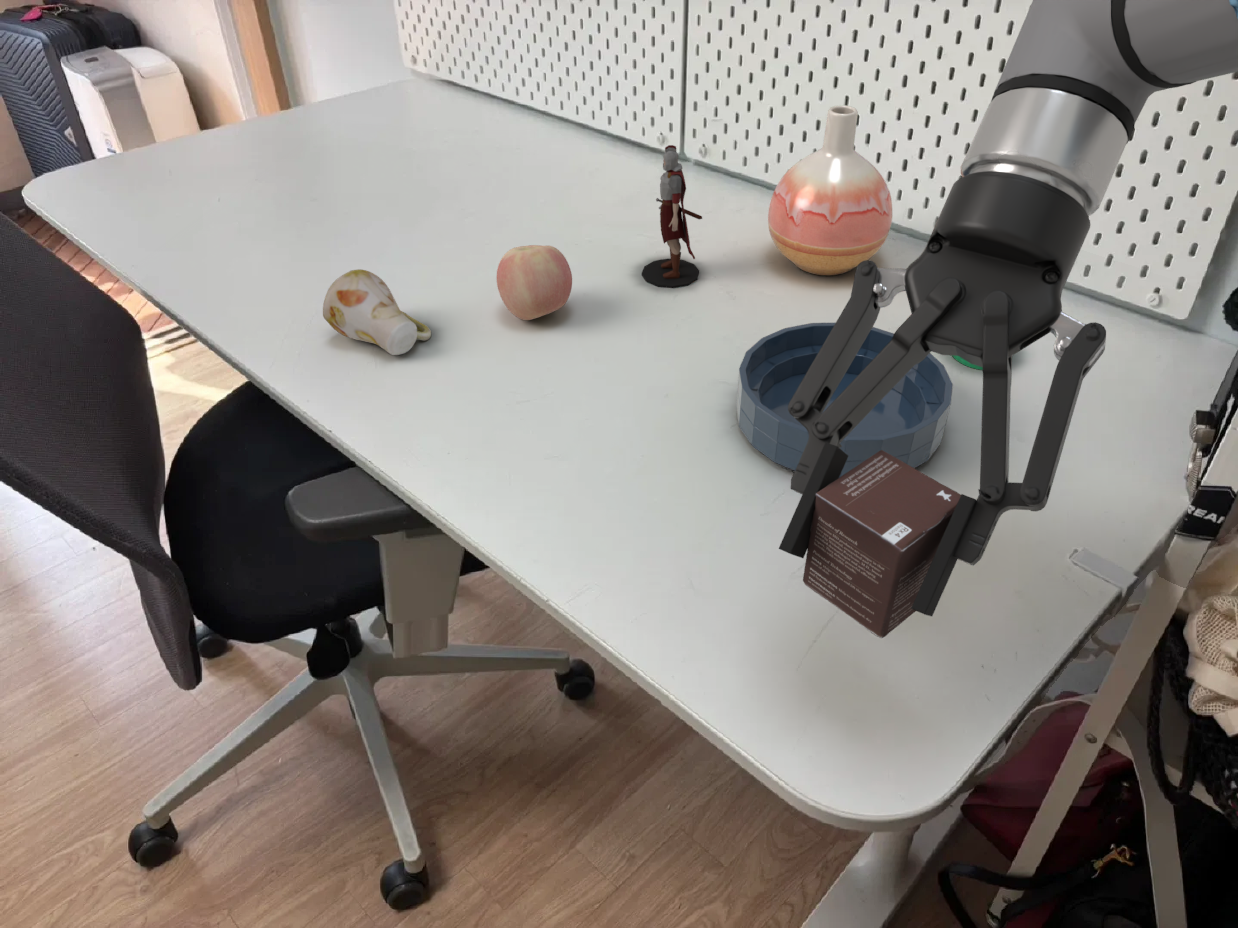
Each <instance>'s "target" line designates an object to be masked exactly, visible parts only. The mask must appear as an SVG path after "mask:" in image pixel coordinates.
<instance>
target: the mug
mask: <svg viewBox="0 0 1238 928" xmlns="http://www.w3.org/2000/svg"><path fill="white" fill-rule="evenodd" d="M322 317H323V319H324V320H325V322H327V323H328V324H329V326H330V327H331V328H332V329H333V330H335V332H337V333H339V334H340V335H342V336H344V337H345V338H346V337H347V338H350V339H352V340H357V341H361V342H366V343H370V344H374V345H377V346H378V347H380V348H381V349H383V350H384V351H385V352H387V354H390V355H393V356H399V355H404V354H406V353H408V352H409V351H410V350H411V349H412V348H413V347H414V345H415V343H416V341H417V340H419V341H424V342H425V341H428V340H429V339H430V338H431V337H432V331H431V329H430V328H429V326H427V325H426V324H424V323H422V322H420V321H419V320H417V319H415V318H413V317H412V316H410V315H408V314H407V313H406V312H404V311H403V310H401V309H400V307H399V305H398V303H397V301H396V299H395V297H394V295H393V293H392V291H391V290H390V288H389V287H388V285H387V284H386V282H385V281H384V280H383V279H382V278H381V277H380V276H378V275H377V274H375V273H373V272H371V271H369V270H367V269H353V270H350V271H347V272H345V273H344V274H342V275H340V276H339V277H338V278H336V279H335V280H334V281H333V282H332V283H331V284H330V286H329V287H328V289H327V291H326V294H325V297H324V300H323V304H322Z"/></svg>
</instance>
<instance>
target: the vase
mask: <svg viewBox="0 0 1238 928" xmlns="http://www.w3.org/2000/svg"><path fill="white" fill-rule="evenodd" d="M858 112H859V111H858V109H857V108H855V107H853V106H850V105H845V104H843V105H841V104H839V105H834V106H831V107H829V108H828V110H827V115H826V122H825V127H824V128H825V129H824V137H823V143H822V147H821V148H819V149H817V150H815V151H813V152H811V153H810V154H808V155H807V156H805V157H803V158H801V159H800V160H798V161H797V162H796V163H795V164H793V165H792V166H791V167H790V168H789V169H788V170H787V171H786V172H785V173H784V174H783V175H782V177H781V178H780V180H779V181H778V183H777V184H776V186H775V188H774V190H773V193H772V196H771V198H770V201H769V206H768V213H767V225H768V231H769V234H770V237H771V240H772V241H773V243H774V245H775V246H776V248H777V249H778V251H779V252H780V254H781V255H783V256H784V258H786V259H788V260H789V261H790V262H791V263H792V264H793V266H795V267H796V268H798V269H799V270H802V271H803V272H806V273H809V274H813V275H817V276H838V275H842V274H845V273H847V272H849V271H851V270H853V269H854V268H857V266H858V265H859V264H860V263H861V262H863V261H865V260H870V259H871V258H872V257H873V256H874V255H876V254H877V253H878V252H879V251H880V249H881V248H882V246H884V244H885V242H886V241H887V239H888V236H889V234H890V231H891V228H892V223H893V200H892V196H891V191H890V189H889V187H888V184H887V182H886V180H885V178H884V177H883V175H882V173H880V171H879V170H878V169H877V168H876V166H874V165H873V163H872V162H870V161H869V160H868V159H867V158H865V157H864V155H861V154H860V153H859V152H857V151H856V150H855V140H856V131H857V123H858V114H859V113H858Z"/></svg>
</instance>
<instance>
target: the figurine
mask: <svg viewBox="0 0 1238 928" xmlns="http://www.w3.org/2000/svg"><path fill="white" fill-rule="evenodd" d="M662 158H663V163H662V169H663V171H665V172H663V173H662V175H661V176H660V178H659V179H660V184H659V194H660V198H659V197H656V199H655V200H656V202H657V203H661V205H660V206H659V207H658V210H660V211H659V225H660V232H661V234H660V235H661V237H662V242H663V244H665V245H667V246H668V247H669V255H670V257H669V258H663V259H657V260H653V261H651V262H649V263H647V264H645V265H644V267H643V268H642V271H641V277H642V278H643V280H644V281H645V282H646V283H647V284H650V285H653V286H655V287H658V288H663V289H664V288H665V289H666V288H667V289H678V288H682V287H683V288H684V287H688V286H690V285H692V284H693V283H695V282H696V281H698V279H699V277H700V269H699V268H698V267H697V266H696V265H695V263H692V262H690V261H687V260H685V259H681V256H682V252H681V250H682V246H681V242H680V240H682V241H683V242H684V243H685V244H686V248H687V251H688V254H689V255H690V256H691V257H692V259H693V260H696V256H695V255H694V253H693V250H692V249H691V241H690V235H689V228H688V223H687V217H686V215H687V216H690V217H691V218H694V219H697V220H703V216H702V215H700V214H697V213H695V212H694V211H691V210H688V209H686V208H685V206H684V199H685V195H686V192H687V185H686V179H685V176H684V172H683V165H682V163H679V153H678V152H677V146H676V145H674V144H671V145H670V144H669V145H667V146H665V147H664V154H663V157H662Z"/></svg>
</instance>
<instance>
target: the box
mask: <svg viewBox="0 0 1238 928" xmlns="http://www.w3.org/2000/svg"><path fill="white" fill-rule="evenodd" d="M961 494H962V493H959V492H957V491H956V490H953V489H952V488H950V487H948V486H947V485H944V484H943V483H941V482H939V481H937V480H935V479H934V478H932V477H931V476H928V474H925V473H923V472H922V471H920V470H918V469H916V468H913V467H911V466H909V465H907V464H906V463H904V462H902V461H901V460H899V459H897V458H895V457H894V456H892V455H890V454H888V453H886V452H885V451H883V450H880V451H879V452H877V453H876V454H874V455H873V456H871V457H870V458H868V459H867V460H865V461H863V462H862V463H861V464H859V465H858V466H856V467H855V468H853V469H852V470H850V471H849V472H847V473H846V474H844V475H843V476H841V477H840V478H838V479H837V480H835V481H834V482H832V483H831V484H829V485H828V486H826V487H825V488H823V489H822V490H820V491H819V492H817V493H816V501H815V508H814V512H813V519H812V525H811V531H810V537H809V543H808V549H807V551H806V557H805V563H804V570H803V575H802V582H803V584H804V586H806V587H807V588H809V589H810V590H811V591H813V593H815V594H817V595H818V596H820V597H821V598H823V599H824V600H826V601H827V602H829V603H830V604H831V605H833V606H835V607H836V608H837V609H839V610H840V611H842V613H844V614H846V616H847V615H848V617H850V618H851V619H853V620H854V621H855V622H856V623H858V624H859V625H861V626H863V628H864V629H866V630H867V631H868V632H870V633H871V634H873V635H874V636H876V637H878V638H880V639H883V638H885V637H886V636H888V635H889V634H890V633H891V632H893V630H895V629H896V628H897V627H898V626H900V624H902V623H903V622H904V621H906V620H907V619H908V618H909V617H910V616H912V615H913V614H914V613H915V612H917V611H916V610H913V609H911V607H912V605H913V603H914V601H915V598H916V596H917V594H918V592H919V589H920V587H921V585H922V583H923V580H924V578H925V576H926V573H927V571H928V569H929V567H930V564H931V562H932V560H933V558H934V555H935V553H936V551H937V549H938V546H939V544H940V542H941V540H942V537H943V535H944V533H945V530H946V528H947V526H948V524H949V521H950V519H951V517H952V515H953V512H954V510H955V508H956V506H957V503H958V501H959V499H960V497H961Z"/></svg>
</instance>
